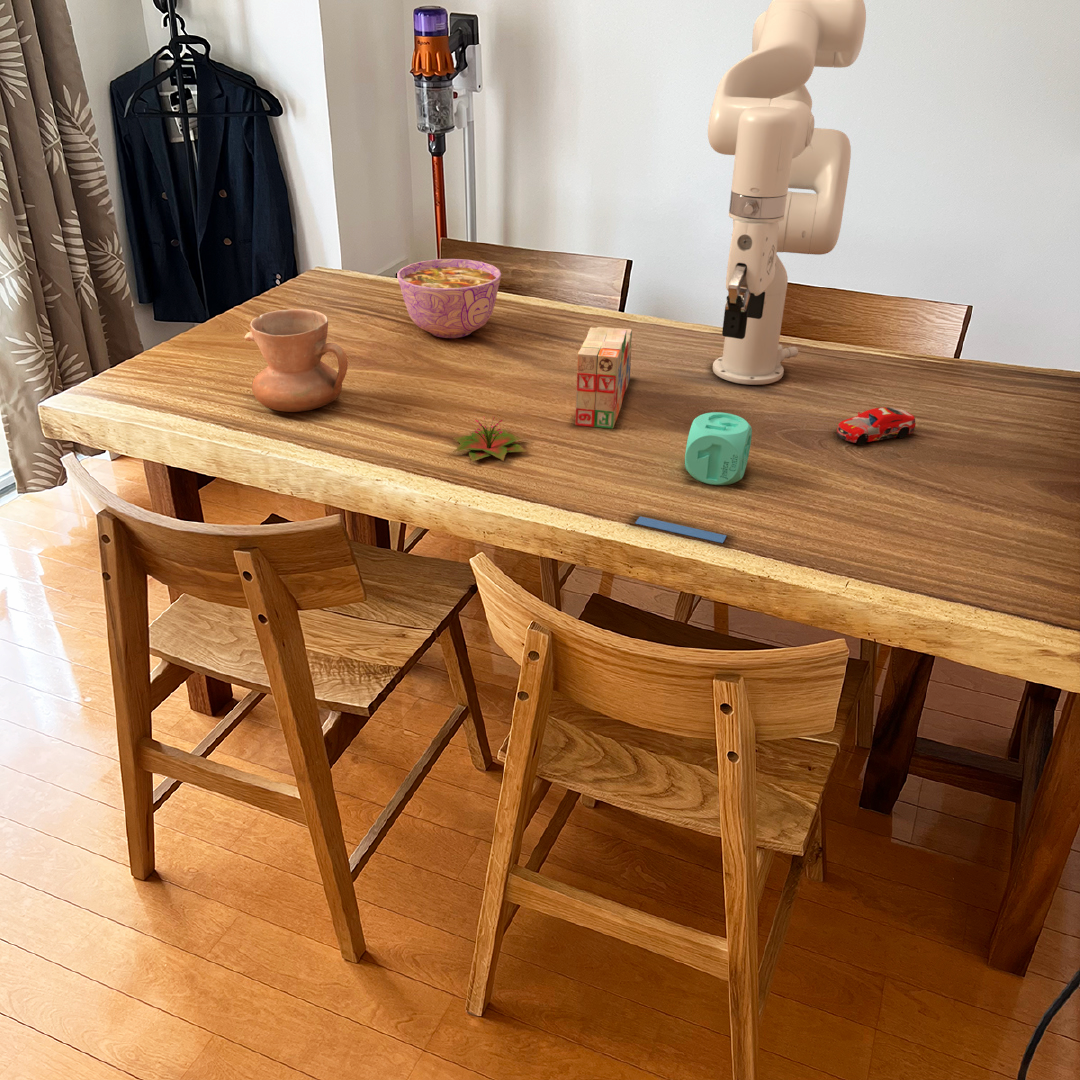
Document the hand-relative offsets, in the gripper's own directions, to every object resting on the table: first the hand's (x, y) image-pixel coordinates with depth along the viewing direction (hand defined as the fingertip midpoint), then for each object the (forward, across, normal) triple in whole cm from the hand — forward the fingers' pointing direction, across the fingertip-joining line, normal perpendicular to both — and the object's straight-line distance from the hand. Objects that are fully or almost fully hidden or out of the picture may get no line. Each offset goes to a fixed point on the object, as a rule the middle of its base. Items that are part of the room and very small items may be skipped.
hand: (742, 326), depth 143 cm
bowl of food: (+19, +25, +63) cm, 70 cm away
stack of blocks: (+19, +6, +23) cm, 31 cm away
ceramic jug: (+19, -17, +68) cm, 73 cm away
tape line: (+19, -29, -2) cm, 34 cm away
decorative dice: (+19, -11, -1) cm, 22 cm away
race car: (+19, +13, -20) cm, 30 cm away
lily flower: (+19, -18, +32) cm, 42 cm away
